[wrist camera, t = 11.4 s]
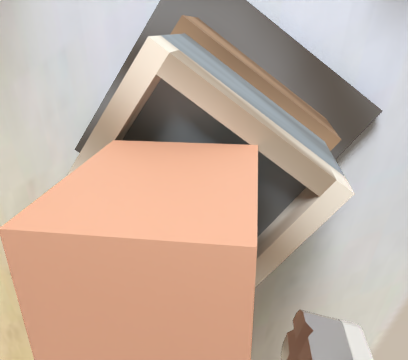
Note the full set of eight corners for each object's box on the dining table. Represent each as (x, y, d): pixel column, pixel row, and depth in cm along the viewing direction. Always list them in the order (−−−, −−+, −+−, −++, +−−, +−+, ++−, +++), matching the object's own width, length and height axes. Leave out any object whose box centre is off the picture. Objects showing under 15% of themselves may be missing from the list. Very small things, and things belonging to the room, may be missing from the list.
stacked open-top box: (236, 253, 27) (222, 394, 17) (81, 145, 25) (-43, 227, 15) (377, 107, 22) (488, 182, 11) (190, -44, 20) (114, -124, 9)
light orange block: (127, 259, 14) (45, 401, 9) (113, 140, 12) (-2, 228, 7) (251, 269, 14) (246, 429, 8) (258, 144, 12) (257, 247, 6)
